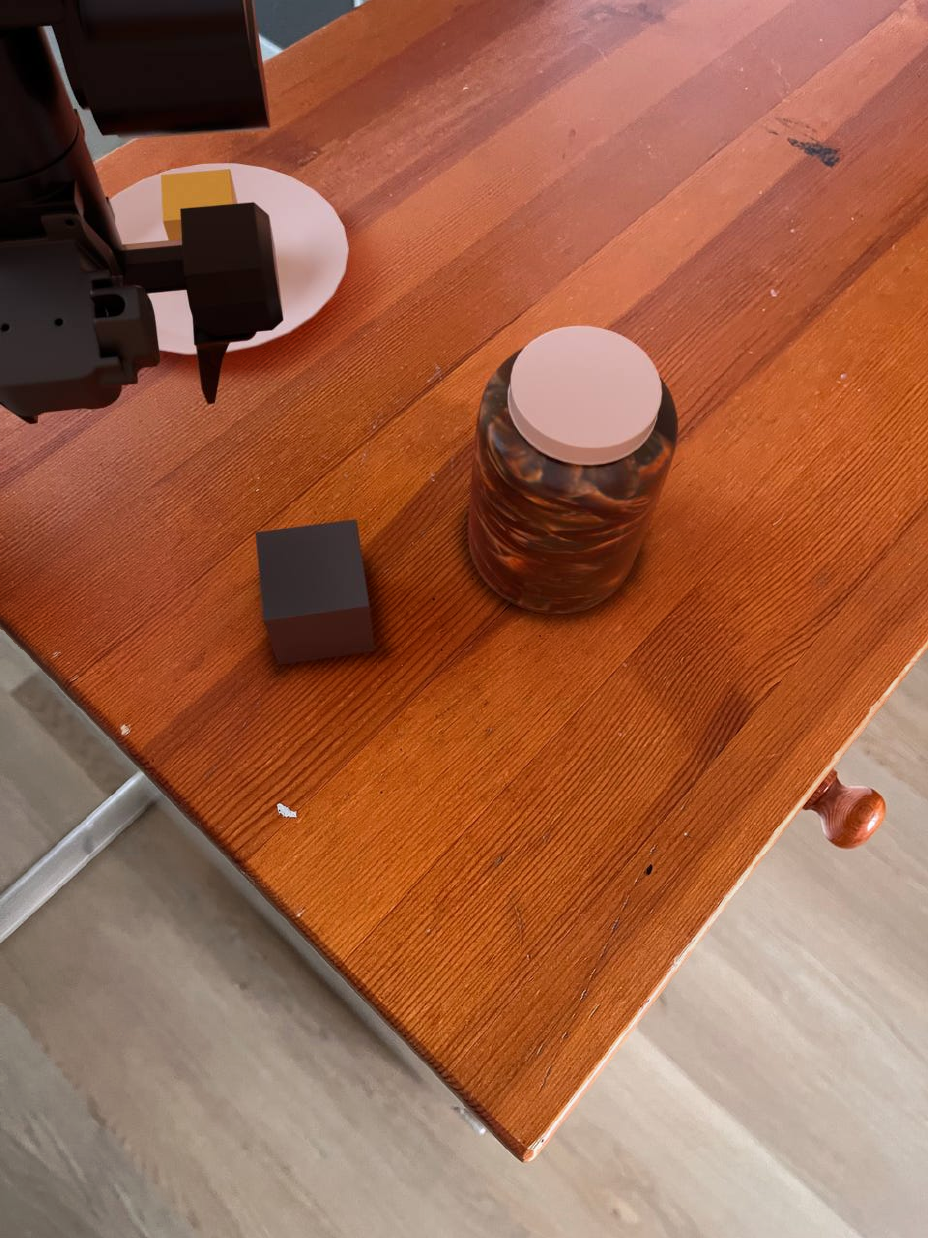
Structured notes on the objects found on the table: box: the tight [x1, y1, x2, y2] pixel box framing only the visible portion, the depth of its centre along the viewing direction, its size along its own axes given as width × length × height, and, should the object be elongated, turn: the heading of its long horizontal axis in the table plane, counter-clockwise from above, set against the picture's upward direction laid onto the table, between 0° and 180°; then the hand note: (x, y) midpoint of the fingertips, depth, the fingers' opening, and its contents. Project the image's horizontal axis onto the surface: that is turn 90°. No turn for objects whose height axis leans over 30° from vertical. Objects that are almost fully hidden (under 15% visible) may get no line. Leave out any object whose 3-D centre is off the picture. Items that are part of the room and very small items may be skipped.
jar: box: [467, 325, 679, 615], centre depth 54 cm, size 12×12×15 cm
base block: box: [255, 518, 376, 666], centre depth 55 cm, size 6×6×6 cm
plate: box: [109, 162, 350, 356], centre depth 70 cm, size 21×21×2 cm
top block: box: [161, 169, 238, 240], centre depth 67 cm, size 5×5×5 cm
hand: (123, 407), depth 48 cm, fingers open, 9 cm apart
